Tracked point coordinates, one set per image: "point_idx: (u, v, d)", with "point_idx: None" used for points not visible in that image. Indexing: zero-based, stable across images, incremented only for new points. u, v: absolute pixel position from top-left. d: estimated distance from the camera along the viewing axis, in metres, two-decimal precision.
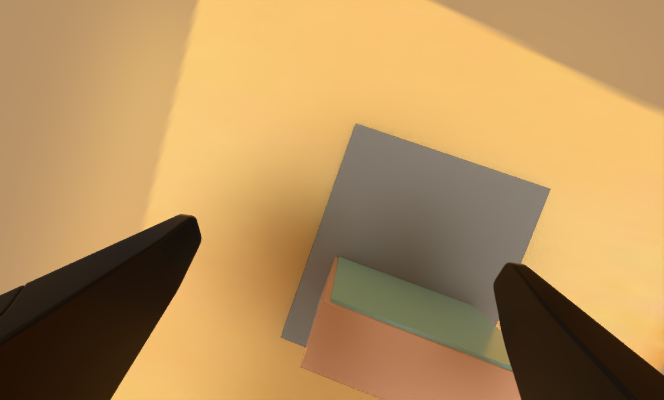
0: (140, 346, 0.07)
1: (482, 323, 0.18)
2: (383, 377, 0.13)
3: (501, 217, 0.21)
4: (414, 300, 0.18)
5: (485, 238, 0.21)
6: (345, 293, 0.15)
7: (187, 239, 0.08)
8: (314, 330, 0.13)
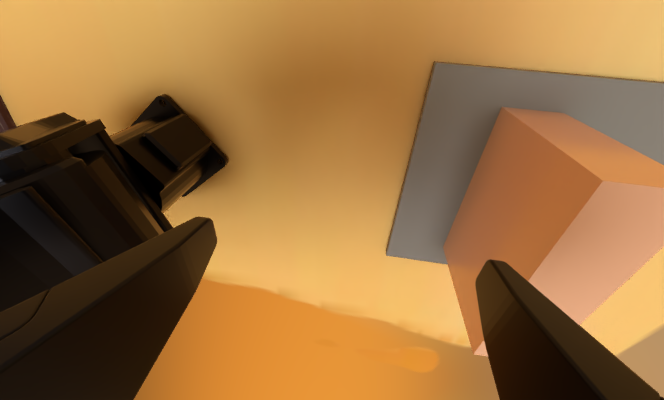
0: (160, 350, 0.07)
1: None
2: (569, 266, 0.11)
3: None
4: None
5: None
6: None
7: (204, 242, 0.08)
8: None
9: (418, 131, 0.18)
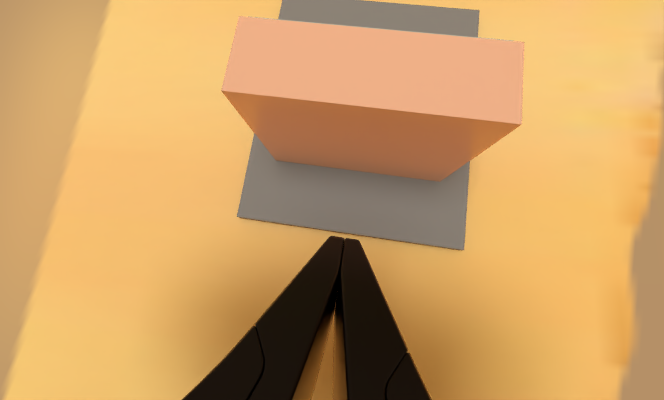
0: (316, 379, 0.06)
1: None
2: (321, 76, 0.11)
3: None
4: None
5: None
6: None
7: None
8: (232, 47, 0.12)
9: (293, 224, 0.19)
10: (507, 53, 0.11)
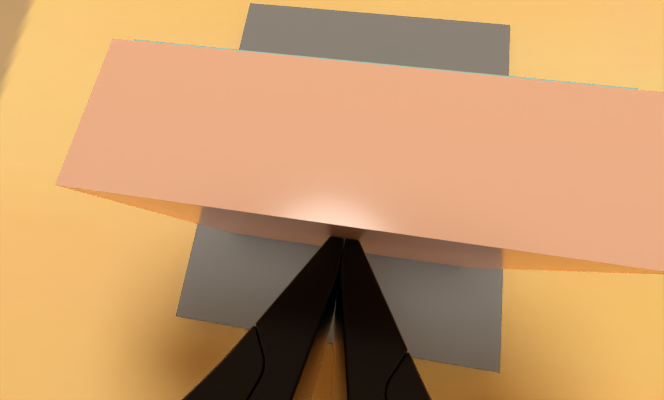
0: (316, 379, 0.06)
1: None
2: (257, 159, 0.05)
3: (461, 70, 0.16)
4: None
5: None
6: None
7: None
8: (92, 97, 0.06)
9: None
10: (634, 114, 0.05)
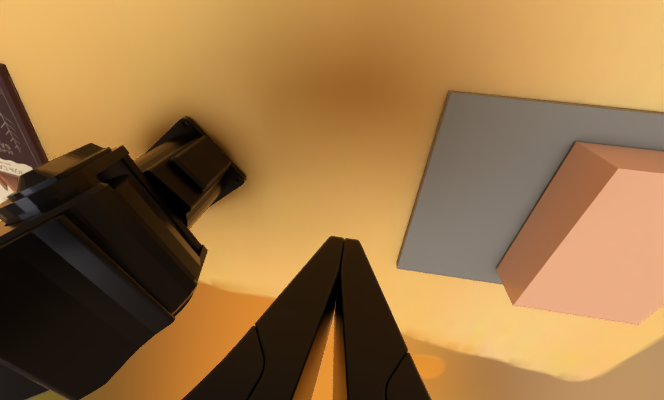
0: (316, 379, 0.06)
1: None
2: None
3: None
4: None
5: None
6: None
7: None
8: None
9: (432, 154, 0.19)
10: None
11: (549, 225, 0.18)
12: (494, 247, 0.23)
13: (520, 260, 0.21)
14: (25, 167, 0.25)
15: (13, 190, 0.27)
